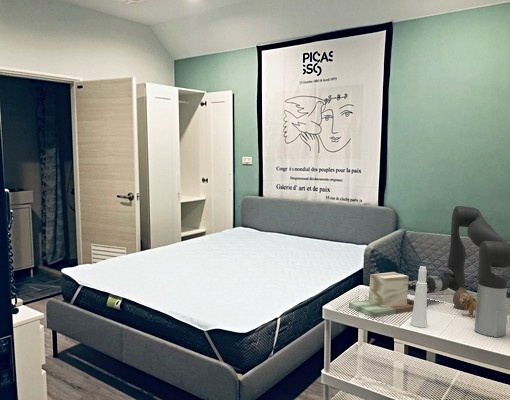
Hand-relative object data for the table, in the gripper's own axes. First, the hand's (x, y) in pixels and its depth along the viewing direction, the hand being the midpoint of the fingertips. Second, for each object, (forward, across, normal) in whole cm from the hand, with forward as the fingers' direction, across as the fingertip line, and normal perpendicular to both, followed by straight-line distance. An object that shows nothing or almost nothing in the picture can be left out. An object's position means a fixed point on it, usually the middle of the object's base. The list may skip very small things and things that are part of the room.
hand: (402, 287), depth 188 cm
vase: (-24, +12, +8) cm, 28 cm away
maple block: (+8, 0, +6) cm, 10 cm away
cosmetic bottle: (+13, +20, +8) cm, 25 cm away
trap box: (+8, 0, +8) cm, 11 cm away
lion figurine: (-17, +24, +8) cm, 30 cm away
